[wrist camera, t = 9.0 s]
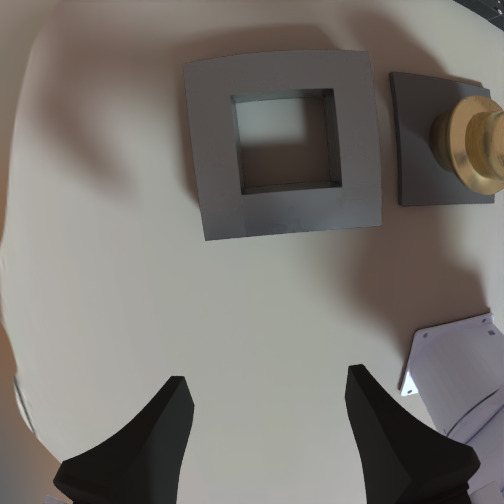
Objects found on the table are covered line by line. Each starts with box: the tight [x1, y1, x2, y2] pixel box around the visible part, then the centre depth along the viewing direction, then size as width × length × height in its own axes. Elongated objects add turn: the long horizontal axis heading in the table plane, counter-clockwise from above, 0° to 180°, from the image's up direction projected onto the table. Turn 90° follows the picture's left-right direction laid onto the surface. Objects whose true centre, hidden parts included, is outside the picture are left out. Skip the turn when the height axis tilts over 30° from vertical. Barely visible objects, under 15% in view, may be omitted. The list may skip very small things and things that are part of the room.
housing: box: [183, 50, 382, 241], centre depth 16 cm, size 10×10×3 cm
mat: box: [389, 72, 495, 206], centre depth 16 cm, size 9×9×1 cm
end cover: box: [429, 95, 504, 195], centre depth 12 cm, size 6×6×8 cm
